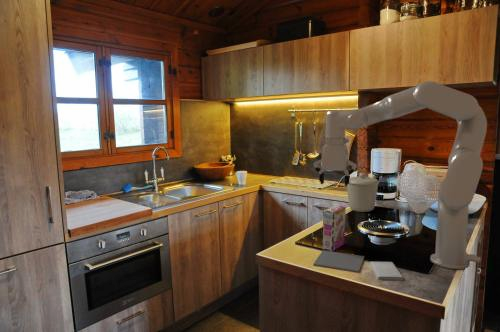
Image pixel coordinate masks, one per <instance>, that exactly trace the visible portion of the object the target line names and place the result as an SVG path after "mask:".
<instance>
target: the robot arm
mask: <svg viewBox="0 0 500 332" xmlns="http://www.w3.org/2000/svg"><path fill="white" fill-rule="evenodd" d="M478 102H479V101H478V100H477V99H476V98H475V97H474V96H473V95H471V94H469V93H466V92H463V91H461V90H459V89H458V90H457V89H454V88H451V87H448V86H446V85H444V84H441V83H438V82H436V81H432V80H427V81H423V82H422V83H420V84H418V85H415V86H412V87H409V88H406V89H404V90H402V91H399V92H396V93H393V94H391V95H388V96H386V97H384V98H383V99H381V100H379V101H377V102H374V103H372V104H369V105H367V106H366V105H365V106H364V107H360V108H359V109H351V110H340V109H339V110H338V109H337V110H336V109H335V110H328V111H326V113H325V144H323V147H322V151H321V152H322V153H321V158H320V159H319V160H316V161H315V162H313V163H312V165H313V167H314V169H315V171H316V172H317V173H318V175H319V176H318V177H319V179H318V180H319V182H320V185H323V184H324V183H325V171H332V172H333V171H334V172H343V173H344V174H345V176H344V186H345V187H347V185H348V184H349V179H350V178H351V177H350V175H352V174H353V173H354V172H355V170H356V168H357V167H358V164H356V163H354V162H353V161H351V160H349V149H348V146H347V145H346V144H347V143H348V144H349V143H350V141H349V140H350V139H349V138H346V130H355V131H356V130H359V129H362V128H366V127H368V126H371V125H374V124H377V123H382V122H383V121H387V120H393V119H397V118H400V117H403V116H405V115H409V114H412V113H416V112H417V111H421V110H423V109H426V108H427V109H428V110H432V111H434V112H437V113H439V114H442V115H444V116H447V117H450V118H452V119H454V120H456V123H457V131H456V134H455V138H454V141H453V145H452V149H451V151H450V154H449V156H448V159H447V164H448V166H447V171H446V174H445V178H444V179H442V180H441V181H442V182H441V183H439V188H437V189H438V190H437V192H438V193H437V194H438V201H437V219H436V236H435V238H436V239H435V253H432V254H431V255H430V257H429V258H430V259H429V260H430V262H431V263H433V264H435V265H437V266H439V267H442V268H447V269H451V270H463V269H464V270H465V269H467V268H469V267H470V264H471V262H474V263H481V261H482V259H481V256H477V255H476V254H470V253H468V252H467V249H466V248H467V247H466V246H467V236H468V235H467V234H468V233H467V232H468V224H469V223H468V222H469V205H471V203H472V201H473V199H474V197H475V193H476V190H477V189H478V184H479V182H480V178H481V175H482V171H483V166H484V163H483V159H482V156H481V152H482V149H483V146H484V142H485V139H486V134H487V127H488V121H487V117H486V114H485V112H484V111H483V108H482V107H481V106H480V105H479V103H478ZM319 164H321V165H320V166H321V168H320V167H319V166H318V165H319ZM349 166H351V167H352V168H351V169H350V170H349Z"/></svg>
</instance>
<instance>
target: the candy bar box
mask: <svg viewBox="0 0 500 332" xmlns="http://www.w3.org/2000/svg"><path fill="white" fill-rule="evenodd" d="M346 209H347V208H346V206H343V205H333V206H331V207H329V208H327V209H323V211H322V214H323V216H322V250H324V251H331V252H335V251H337V250H338V249H339V248H340V247H343V246H344V245H345V243H346V242H345V241H346V239H345V236H346V234H345V233H346Z"/></svg>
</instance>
